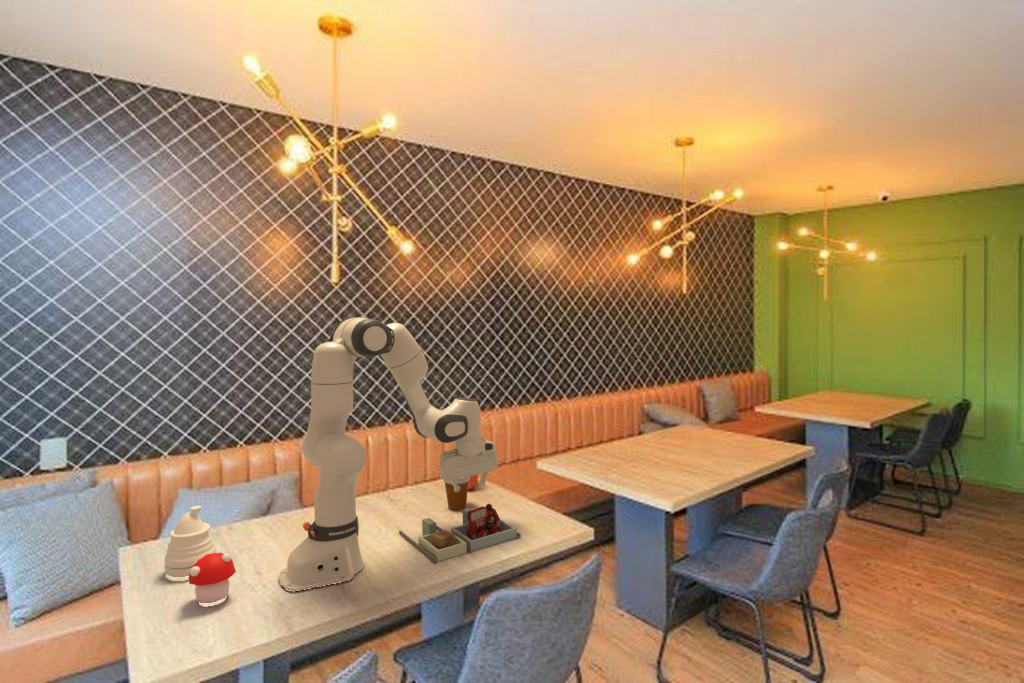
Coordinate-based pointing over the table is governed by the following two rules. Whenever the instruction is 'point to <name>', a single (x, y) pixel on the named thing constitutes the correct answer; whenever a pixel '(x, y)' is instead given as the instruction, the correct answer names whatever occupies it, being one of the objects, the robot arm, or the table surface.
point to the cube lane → (441, 554)
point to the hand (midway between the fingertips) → (469, 488)
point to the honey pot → (188, 544)
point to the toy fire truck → (483, 522)
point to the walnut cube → (442, 539)
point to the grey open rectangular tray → (486, 541)
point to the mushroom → (212, 577)
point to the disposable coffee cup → (457, 494)
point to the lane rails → (425, 550)
